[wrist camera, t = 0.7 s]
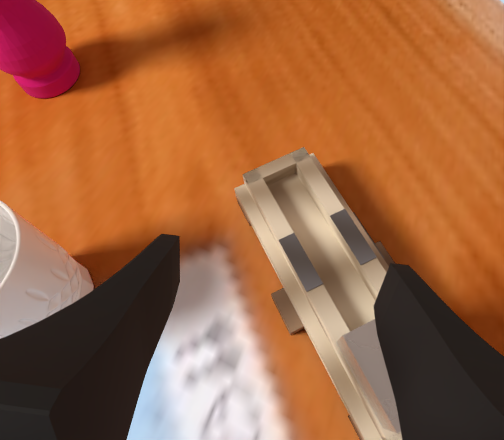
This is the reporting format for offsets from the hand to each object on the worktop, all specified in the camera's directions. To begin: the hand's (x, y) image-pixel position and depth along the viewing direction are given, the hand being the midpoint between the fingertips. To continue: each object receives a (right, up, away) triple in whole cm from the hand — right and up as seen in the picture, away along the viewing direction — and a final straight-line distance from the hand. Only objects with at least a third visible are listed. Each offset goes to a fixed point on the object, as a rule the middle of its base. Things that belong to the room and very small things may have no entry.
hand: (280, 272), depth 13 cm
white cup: (-17, -5, +17) cm, 24 cm away
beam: (+5, -3, +15) cm, 16 cm away
